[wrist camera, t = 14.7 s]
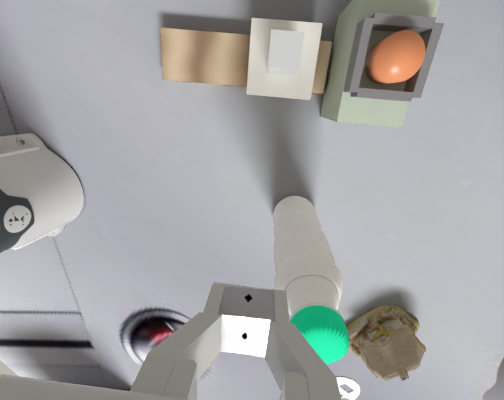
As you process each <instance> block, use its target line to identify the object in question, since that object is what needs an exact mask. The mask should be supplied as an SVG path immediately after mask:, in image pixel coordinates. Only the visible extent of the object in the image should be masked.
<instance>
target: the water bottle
mask: <svg viewBox="0 0 504 400" xmlns="http://www.w3.org/2000/svg"><path fill="white" fill-rule="evenodd" d="M273 221H274V236H275V239H274V263H275V272H276V274H275V289H276V290H286V292H287V300H288V311H289V314H290V315H291V317H290V323H292V324H294V325H295V326H296V328H297V329H298V330H299V331H300V333H301V334H302V335H303V336H304V338H305V339H306V340H307V341H308V343H309V344H310V345H311V346H312V348H313V349H314V350H315V351H316V353H317V354H318V355H319V356H320V358H321V359H322V360H323V361H324V363H325V364H327V363H328V364H330V363H331V362H332V363H333V362H335V361H338V360H339V359H341V358H342V357H343V356H345V353H347V351H348V348H349V335H348V331H347V328H346V325H345V322H344V320H343V318H342V317H341V315H340V313H339V311H338V310H337V309H338V307H339V300H340V297H341V294H342V289H343V281H342V277H341V274H340V271H339V269H338V268H337V266H336V265H335V261H334V258H333V255H332V252H331V249H330V246H329V244H328V241H327V239H326V237H325V235H324V233H323V231H322V229H321V224H320V221H319V219H318V217H317V214H316V211H315V208H314V206H313V205H312V203H311V202H310V201H309V200H307V199H306V198H303V197H300V196H289V197H286V198H284V199H282V200H281V201H280V202H279V203H278V204H277V205H276V207H275V209H274V213H273Z"/></svg>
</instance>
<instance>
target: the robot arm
mask: <svg viewBox="0 0 504 400" xmlns="http://www.w3.org/2000/svg"><path fill="white" fill-rule="evenodd" d="M83 203H84V194H83V189H82V186H81V183H80V181H79V179H78V177H77V176H76V174H75V172H74V171H73V170H72V169H71V167H70V166H69V165H68V164H67V163H66V162H65V161H64V160H62V159H61V158H60V157H58V156H57V155H56V154H54V153H53V152H51V151H50V150H49V149H48V148H47V147H46V146H45V145H44V143H43V142H42V141H41V140H40V139H39V138H38V137H37V136H36V135H35V134H33V133H24V134H15V135H7V136H0V254H2V253H4V252H5V251H6V250H8V249H9V248H11V249H19V248H21V247H24V246H26V245H28V244H30V243H32V242H34V241H36V240H38V239H40V238H42V237H44V236H46V235H48V236H52V237H53V236H56V235H58V234H60V233H61V232H62V230H63V228H64V227H65V225H66V224H67V223H69V222H71V221H73V220H74V219H75V218H76V217H77V216H78V215H79V214H80V212H81V210H82V208H83ZM220 351H221V352H231V353H242V354H249V355H255V356H262V357H265V360H266V362H267V364H268V366H269V368H270V370H271V372H272V374H273V376H274V378H275V380H276V382H277V384H278V386H279V388H280V390H281V395H280V400H341V396H340V392H339V387H338V383H337V379H336V376H335V375H334V374H333V373H332V371H331V370H330V369H329V368H328V366H327V365H326V364H325V363H324V361H323V360H322V359H321V358H320V356H319V355H318V354H317V353H316V351H315V350H314V349H313V348H312V346H311V345H310V344H309V343H308V341H307V340H306V339H305V338H304V336H303V335H302V334H301V333H300V331H299V330H298V329H297V328H296V326H295V325H294V324H292V323H289V311H288V300H287V292H286V290H276V289H274V290H273V289H265V288H255V287H247V286H240V285H233V284H224V283H217V282H214V283H213V284H212V287H211V291H210V294H209V297H208V300H207V303H206V306H205V309H204V313H198V314H197V315H196V316H195V317H193V318H192V319H191V320H189V321H188V322H187V323H186V324H184V325H183V326H182V327H181V328H179V329H178V330H177V331H175V332H174V333H173V334H172V335H170V336H169V337H168V338H167V339H165V340H164V341H163V342H161V343H160V344H159V345H158V346H156V347H155V348H154V349H153V350H151V351H150V352H149V353H148V355H147V357H146V359H145V361H144V363H143V365H142V367H141V369H140V371H139V373H138V375H137V377H136V379H135V381H134V383H133V385H132V387H131V390H130V391H125V390H117V389H110V388H102V387H95V386H87V385H79V384H72V383H64V382H57V381H49V380H41V379H34V378H26V377H19V376H11V375H4V374H0V400H197V381H198V379H199V378H200V377H201V376H202V375H203V373H204V372H205V371H206V370H207V368H208V367H209V366H210V365H211V364H212V362H213V361H214V360H215V359H216V358H217V356H218V355H219V354H220Z"/></svg>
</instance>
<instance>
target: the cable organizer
mask: <svg viewBox="0 0 504 400" xmlns="http://www.w3.org/2000/svg"><path fill="white" fill-rule="evenodd" d="M336 379H337V383H338V387H339V392H340V393H341V394H342V395H343V396H341V400H354V399H356V398H357V397H358V395H359V394H360V387H359V385H358V384H357V383H356V382H355V381H354V380H352V379H350V378H347V377H336ZM344 383H345V384H346V385H348V386H349V387H350V388H351V389H353V391H351V392H349V393H348V392H347V391H345V390H344V389H343V388H342V387H340V386H341V385H343V384H344Z"/></svg>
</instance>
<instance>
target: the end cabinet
mask: <svg viewBox="0 0 504 400" xmlns="http://www.w3.org/2000/svg"><path fill="white" fill-rule="evenodd" d="M439 2H440V0H352V1H351V2H350V3H349V4H348V6H347V7H346V8H345V9H344V11H343V12H342V13H341V14H340V16H339V17H338V18H337V24H336V29H335V35H334V41H333V46H332V52H331V57H330V63H329V69H328V74H327V80H326V86H325V91H324V97H323V103H322V108H321V114H320V116H321V117H324V118H327V119H330V120H333V121H336V122H345V123H355V124H366V125H377V126H388V127H399V128H402V125H403V122H404V119H405V116H406V112H407V109H408V106H409V102H410V101H411V99H412V98H421V95H422V91H423V88H424V85H425V82H426V79H427V75H428V72H429V69H430V66H431V63H432V59H433V56H434V53H435V50H436V47H437V44H438V40H439V37H440V34H441V31H442V28H443V23H435V19H436V17H435V16H436V12H437V9H438V6H439ZM402 30H411V31H414V32H416V33H418V34H419V35H420V36H421V37H422V39H423V41H424V44H425V58H424V61H423V63H422V65H421V67H420V69H419V70H418V71H417V72H416V73H415V74H414V75H413V76H412V77H410V78H409V79H407V80H405V81H402V82H396V83H389V84H377V83H374V82H373V81H371V80H370V79H369V77H368V76H367V74H366V70H365V61H366V57H367V55H368V53H369V51H370V50H371V48H372V47H373V46H374V45H375V44H376V43H378V42H379V41H381V40H383V39H385V38H387V37H388V36H390V35H392V34H394V33H396V32H398V31H402Z"/></svg>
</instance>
